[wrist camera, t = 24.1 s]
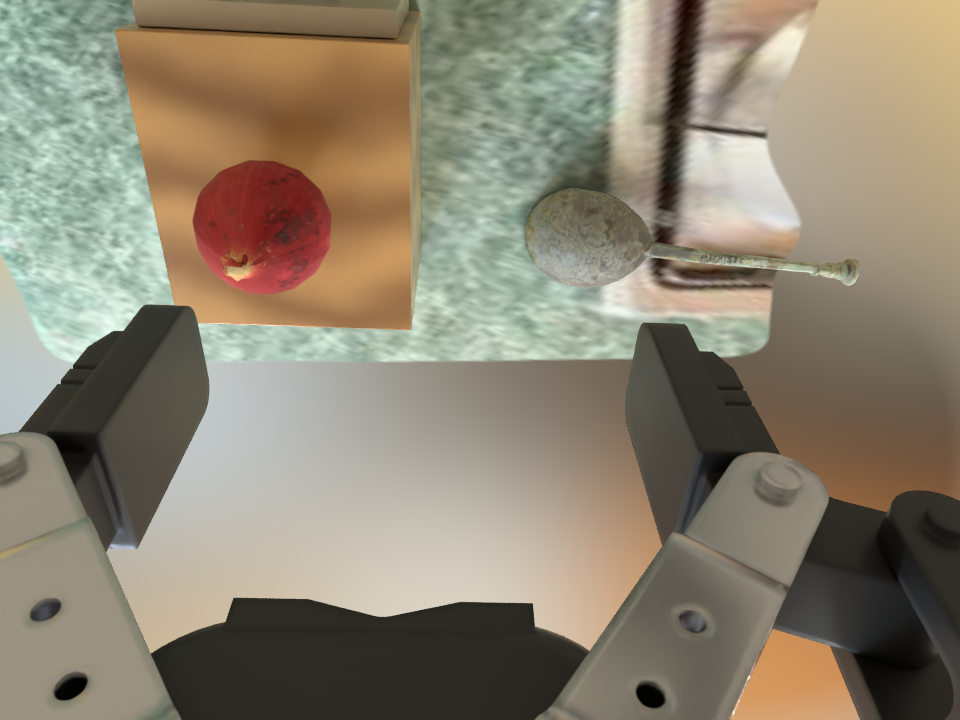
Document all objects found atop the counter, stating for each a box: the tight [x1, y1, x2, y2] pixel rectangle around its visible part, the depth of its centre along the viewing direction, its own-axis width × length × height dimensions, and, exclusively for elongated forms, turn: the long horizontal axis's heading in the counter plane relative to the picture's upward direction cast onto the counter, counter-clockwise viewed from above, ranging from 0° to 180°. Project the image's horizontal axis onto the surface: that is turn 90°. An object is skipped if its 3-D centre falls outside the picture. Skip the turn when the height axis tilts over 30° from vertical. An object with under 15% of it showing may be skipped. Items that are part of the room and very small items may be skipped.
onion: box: [192, 160, 331, 295], centre depth 31 cm, size 6×6×8 cm
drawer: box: [132, 0, 409, 40], centre depth 37 cm, size 18×11×8 cm, turn 177°
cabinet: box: [115, 11, 421, 330], centre depth 39 cm, size 15×13×10 cm
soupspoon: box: [525, 188, 860, 287], centre depth 46 cm, size 22×3×7 cm
